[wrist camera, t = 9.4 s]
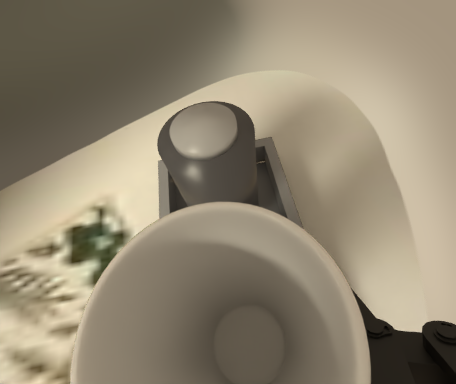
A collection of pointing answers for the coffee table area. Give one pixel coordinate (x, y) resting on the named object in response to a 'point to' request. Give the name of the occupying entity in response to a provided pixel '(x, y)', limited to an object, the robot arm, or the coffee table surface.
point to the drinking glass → (222, 306)
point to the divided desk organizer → (219, 162)
